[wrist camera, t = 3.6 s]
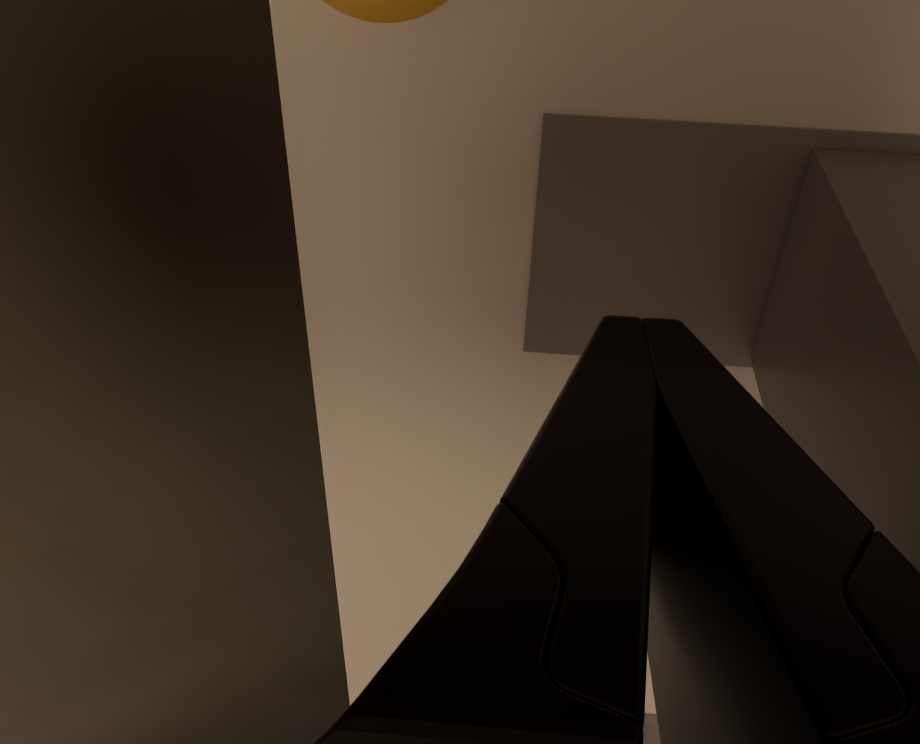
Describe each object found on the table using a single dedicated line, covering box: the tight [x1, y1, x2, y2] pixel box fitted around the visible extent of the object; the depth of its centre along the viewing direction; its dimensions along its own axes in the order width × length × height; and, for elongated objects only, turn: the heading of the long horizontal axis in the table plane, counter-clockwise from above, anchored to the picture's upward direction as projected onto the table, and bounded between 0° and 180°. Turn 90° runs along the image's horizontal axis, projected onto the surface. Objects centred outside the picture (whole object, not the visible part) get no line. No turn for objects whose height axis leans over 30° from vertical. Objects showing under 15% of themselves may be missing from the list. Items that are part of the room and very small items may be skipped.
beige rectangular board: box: [269, 0, 920, 744], centre depth 15 cm, size 22×13×2 cm, turn 179°
